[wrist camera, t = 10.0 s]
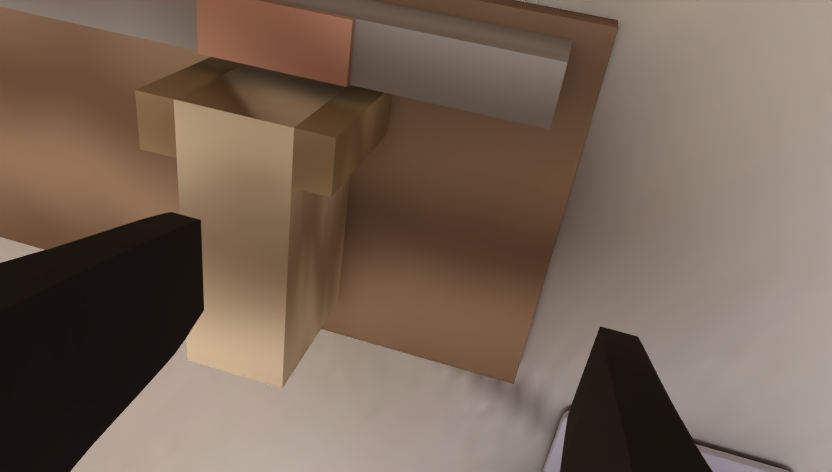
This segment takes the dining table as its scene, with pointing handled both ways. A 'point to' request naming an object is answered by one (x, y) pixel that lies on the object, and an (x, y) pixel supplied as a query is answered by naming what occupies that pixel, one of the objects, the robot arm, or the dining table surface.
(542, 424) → the dining table surface
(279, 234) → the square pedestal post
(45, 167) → the board
